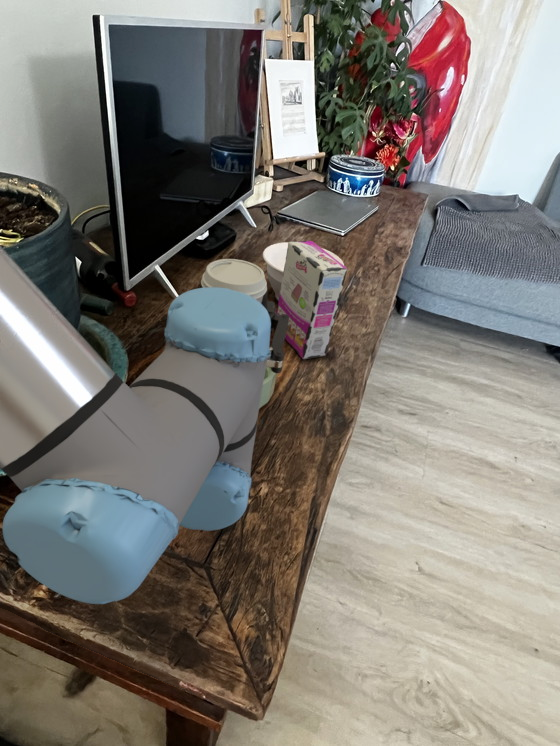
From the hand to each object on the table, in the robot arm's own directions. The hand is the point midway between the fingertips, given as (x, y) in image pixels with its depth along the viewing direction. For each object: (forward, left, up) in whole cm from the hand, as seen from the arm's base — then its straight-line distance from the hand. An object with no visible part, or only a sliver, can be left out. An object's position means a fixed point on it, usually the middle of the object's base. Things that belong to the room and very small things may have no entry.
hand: (234, 290), depth 70 cm
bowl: (+12, +26, -14) cm, 32 cm away
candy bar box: (+12, +10, -14) cm, 21 cm away
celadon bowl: (0, -5, -13) cm, 14 cm away
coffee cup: (0, -5, -7) cm, 9 cm away
